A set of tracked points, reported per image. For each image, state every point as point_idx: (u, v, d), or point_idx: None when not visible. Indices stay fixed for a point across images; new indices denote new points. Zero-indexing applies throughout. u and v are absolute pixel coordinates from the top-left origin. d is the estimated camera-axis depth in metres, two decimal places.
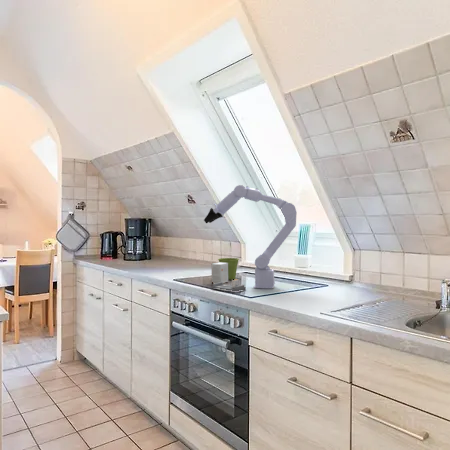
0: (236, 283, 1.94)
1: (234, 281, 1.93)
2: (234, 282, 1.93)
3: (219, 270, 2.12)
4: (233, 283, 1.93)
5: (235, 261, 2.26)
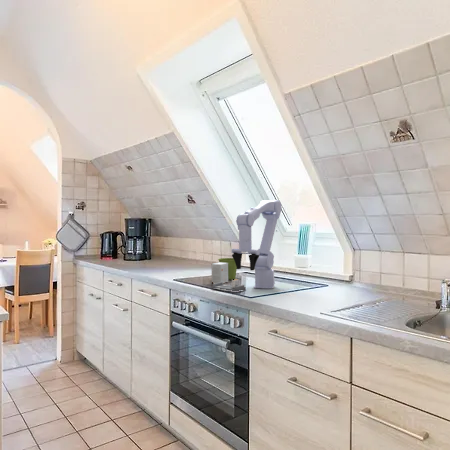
0: (236, 283, 1.94)
1: (234, 281, 1.93)
2: (234, 282, 1.93)
3: (219, 270, 2.12)
4: (233, 283, 1.93)
5: None
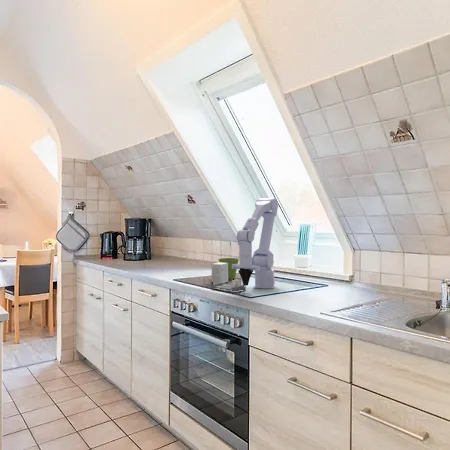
0: (236, 283, 1.94)
1: (234, 281, 1.93)
2: (234, 282, 1.93)
3: (219, 270, 2.12)
4: (233, 283, 1.93)
5: (235, 261, 2.26)
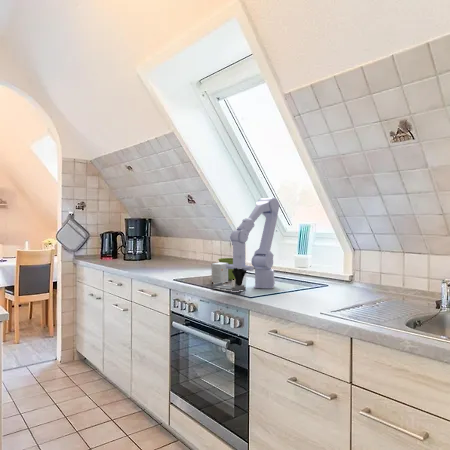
0: (236, 283, 1.94)
1: (234, 281, 1.93)
2: (234, 282, 1.93)
3: (219, 270, 2.12)
4: (233, 283, 1.93)
5: None
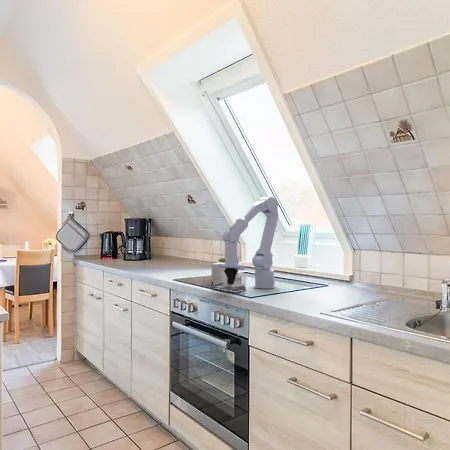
0: (228, 282, 1.96)
1: (226, 280, 1.96)
2: (226, 281, 1.96)
3: (219, 270, 2.12)
4: (225, 282, 1.96)
5: None
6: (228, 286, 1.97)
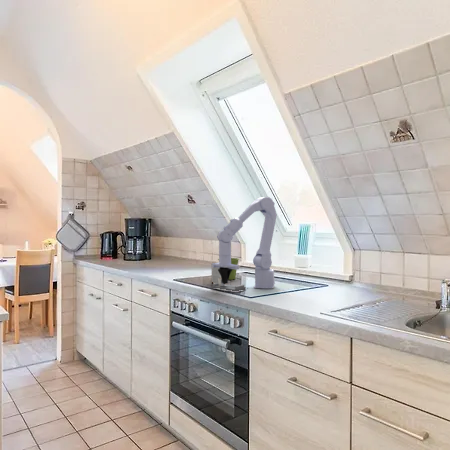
0: (222, 281, 1.99)
1: (220, 279, 1.98)
2: (220, 280, 1.98)
3: None
4: (219, 281, 1.99)
5: (235, 261, 2.26)
6: (222, 285, 1.99)
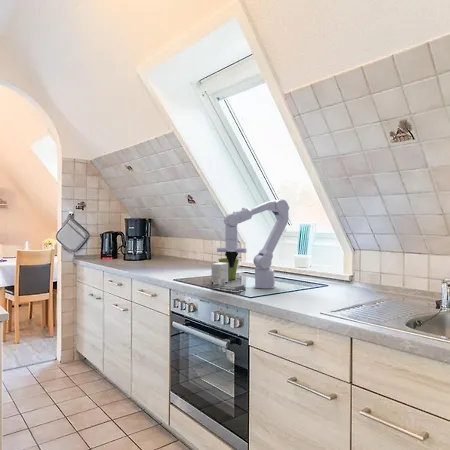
0: (222, 281, 1.99)
1: (220, 279, 1.98)
2: (220, 280, 1.98)
3: (219, 270, 2.12)
4: (219, 281, 1.99)
5: (235, 261, 2.26)
6: (222, 285, 1.99)
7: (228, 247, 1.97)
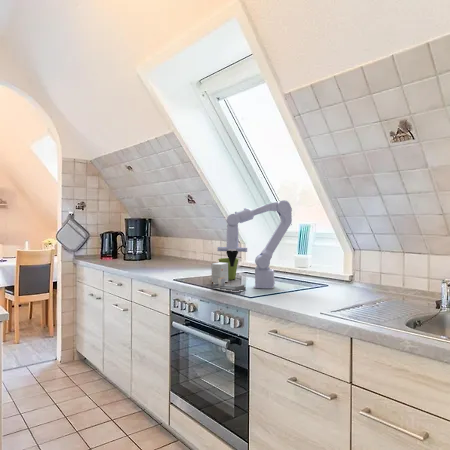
0: (222, 281, 1.99)
1: (220, 279, 1.98)
2: (220, 280, 1.98)
3: (219, 270, 2.12)
4: (219, 281, 1.99)
5: (235, 261, 2.26)
6: (222, 285, 1.99)
7: (230, 246, 2.01)
